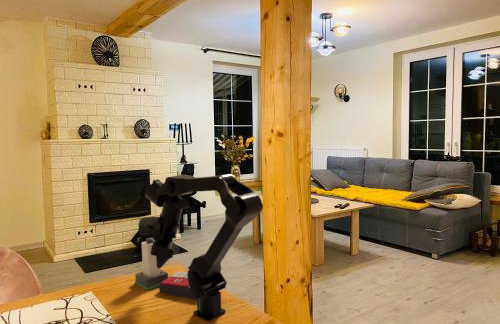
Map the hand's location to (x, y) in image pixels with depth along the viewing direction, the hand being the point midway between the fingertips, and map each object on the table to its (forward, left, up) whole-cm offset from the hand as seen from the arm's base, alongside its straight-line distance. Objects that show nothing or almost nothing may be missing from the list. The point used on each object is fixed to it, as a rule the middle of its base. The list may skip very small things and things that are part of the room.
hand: (161, 258), depth 114 cm
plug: (+9, -3, -10) cm, 14 cm away
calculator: (-4, -7, -12) cm, 14 cm away
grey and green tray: (+9, -3, -11) cm, 15 cm away
